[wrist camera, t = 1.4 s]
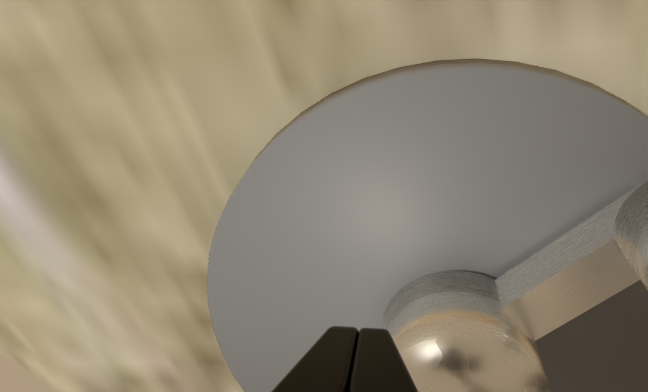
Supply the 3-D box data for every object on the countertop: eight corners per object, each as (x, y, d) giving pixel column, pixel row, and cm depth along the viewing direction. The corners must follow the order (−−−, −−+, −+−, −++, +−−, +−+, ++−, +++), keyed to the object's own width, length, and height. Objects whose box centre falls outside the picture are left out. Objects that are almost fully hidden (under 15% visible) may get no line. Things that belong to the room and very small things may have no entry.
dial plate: (829, 328, 19) (863, 360, 17) (428, 516, 26) (429, 550, 25) (490, -79, 15) (498, -80, 13) (133, 276, 22) (114, 299, 21)
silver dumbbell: (445, 405, 20) (455, 544, 16) (352, 322, 19) (333, 446, 15) (755, 229, 16) (897, 353, 11) (654, 107, 15) (765, 189, 10)
